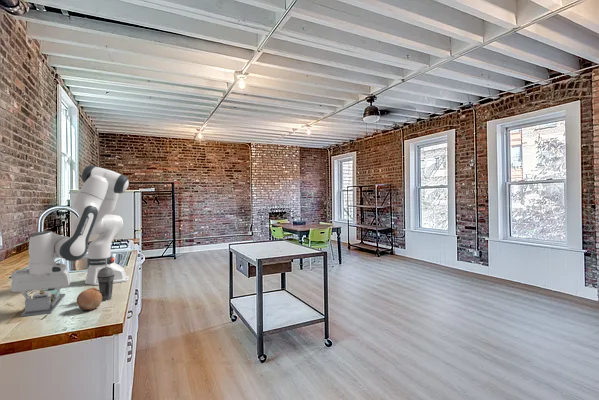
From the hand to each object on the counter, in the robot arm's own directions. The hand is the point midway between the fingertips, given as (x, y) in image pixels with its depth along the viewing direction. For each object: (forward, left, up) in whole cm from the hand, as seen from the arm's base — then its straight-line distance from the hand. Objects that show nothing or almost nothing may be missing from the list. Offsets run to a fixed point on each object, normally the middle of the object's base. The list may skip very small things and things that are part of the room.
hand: (41, 299), depth 138 cm
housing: (0, 0, -3) cm, 3 cm away
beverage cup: (-24, -3, -4) cm, 25 cm away
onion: (-19, +9, -4) cm, 22 cm away
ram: (0, -13, -3) cm, 13 cm away
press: (0, -5, -4) cm, 7 cm away
